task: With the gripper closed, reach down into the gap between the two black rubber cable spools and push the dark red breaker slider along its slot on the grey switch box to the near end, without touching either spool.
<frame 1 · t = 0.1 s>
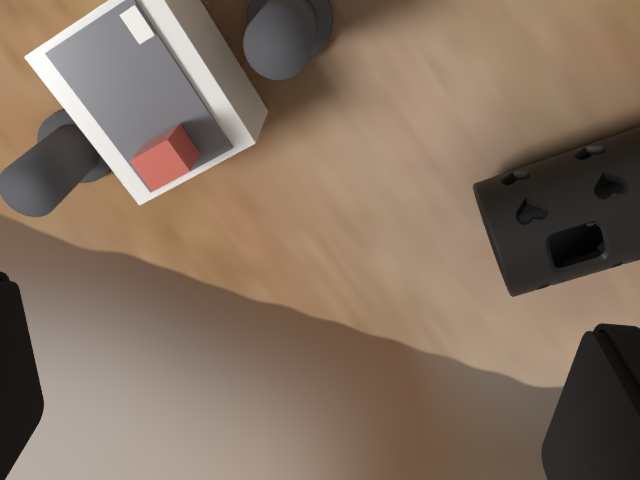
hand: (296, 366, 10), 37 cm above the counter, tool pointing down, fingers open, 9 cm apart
slider: (166, 157, 39), point 9 cm above the counter, slide at 0.0 cm
switch box: (171, 74, 45), on the counter
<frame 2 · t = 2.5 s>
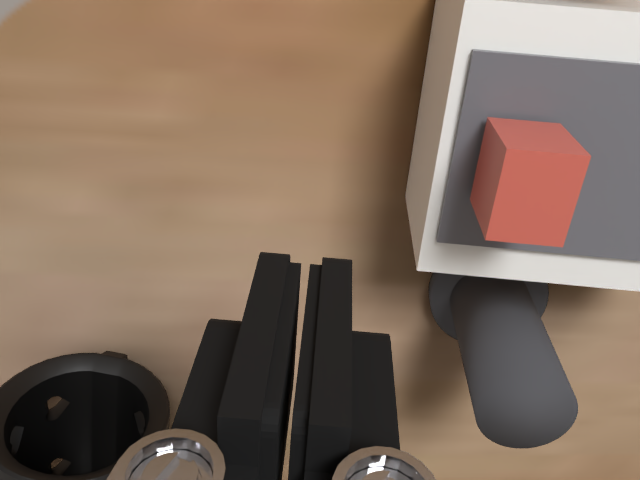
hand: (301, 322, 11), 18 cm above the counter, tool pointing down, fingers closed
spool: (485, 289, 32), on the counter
slider: (523, 180, 19), point 9 cm above the counter, slide at 0.0 cm
switch box: (553, 107, 27), on the counter
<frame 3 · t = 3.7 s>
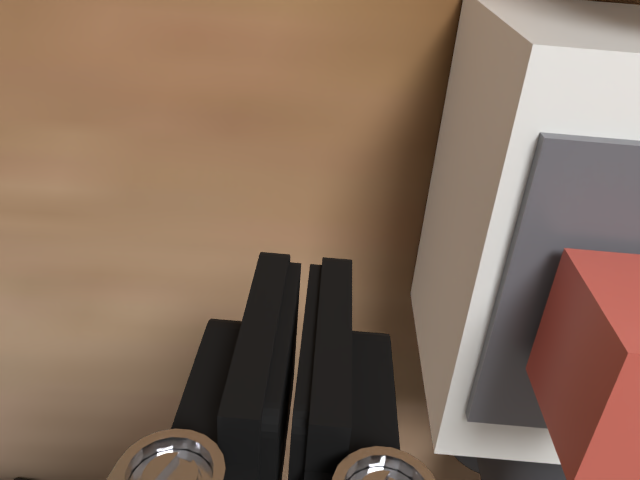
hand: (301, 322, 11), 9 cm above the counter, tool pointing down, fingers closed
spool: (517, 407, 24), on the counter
slider: (634, 368, 11), point 9 cm above the counter, slide at 0.0 cm
switch box: (626, 178, 19), on the counter
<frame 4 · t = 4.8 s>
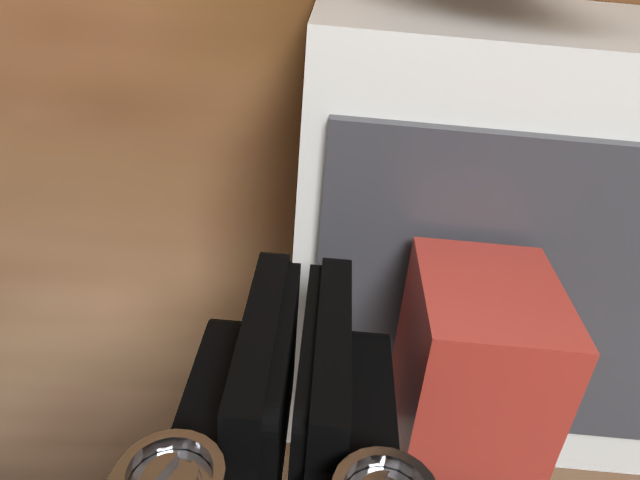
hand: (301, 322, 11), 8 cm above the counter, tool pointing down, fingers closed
slider: (475, 357, 11), point 9 cm above the counter, slide at 1.0 cm, touching gripper
switch box: (504, 169, 18), on the counter
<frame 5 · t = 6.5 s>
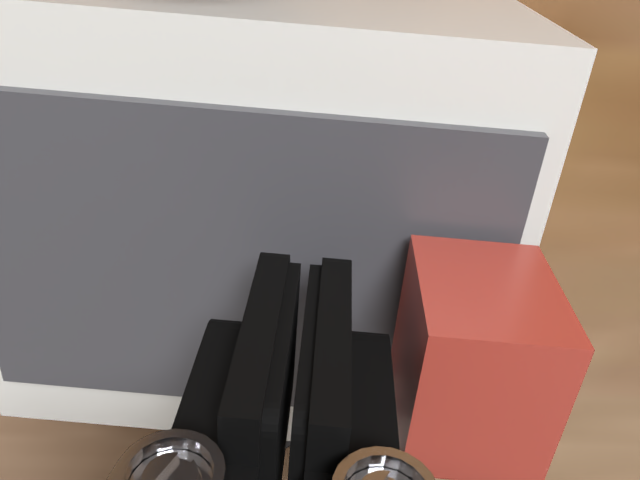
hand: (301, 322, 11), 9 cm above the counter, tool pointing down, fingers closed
slider: (472, 354, 11), point 9 cm above the counter, slide at 8.0 cm, touching gripper
switch box: (276, 148, 19), on the counter
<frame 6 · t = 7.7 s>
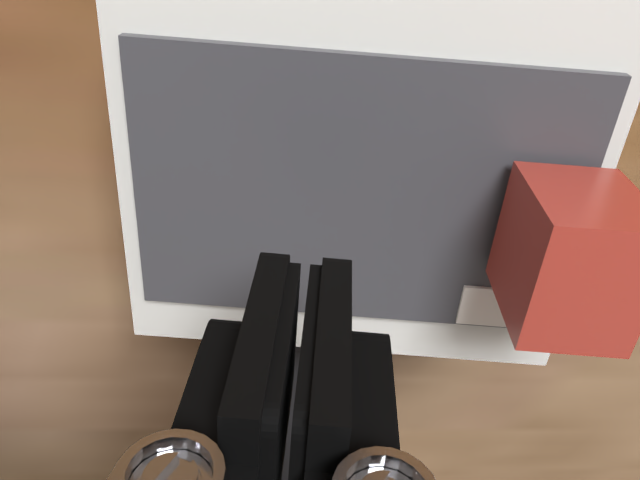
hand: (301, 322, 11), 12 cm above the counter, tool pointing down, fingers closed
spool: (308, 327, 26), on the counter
slider: (569, 256, 13), point 9 cm above the counter, slide at 8.1 cm
switch box: (353, 106, 21), on the counter
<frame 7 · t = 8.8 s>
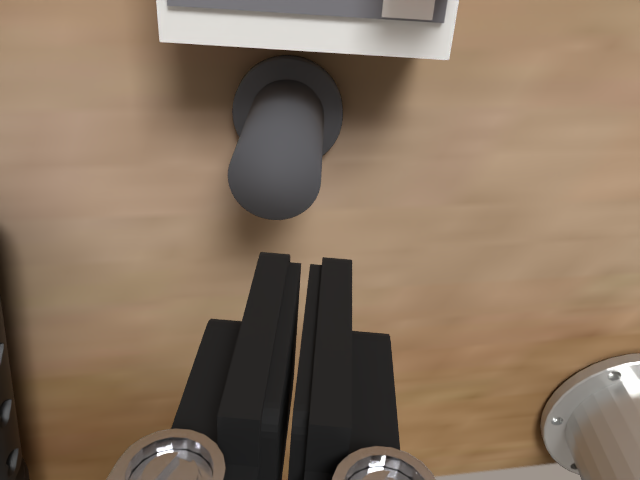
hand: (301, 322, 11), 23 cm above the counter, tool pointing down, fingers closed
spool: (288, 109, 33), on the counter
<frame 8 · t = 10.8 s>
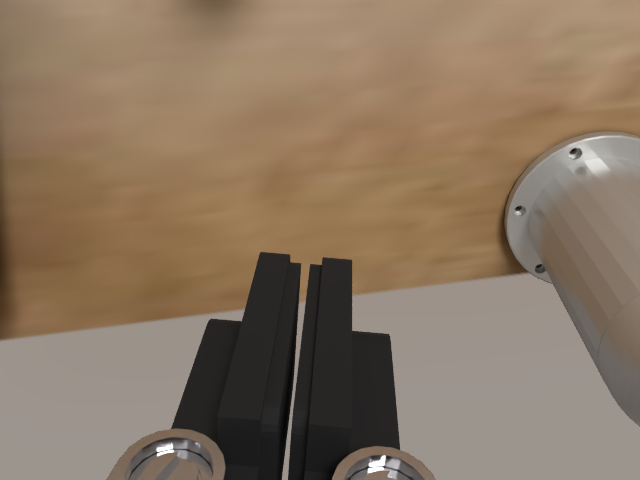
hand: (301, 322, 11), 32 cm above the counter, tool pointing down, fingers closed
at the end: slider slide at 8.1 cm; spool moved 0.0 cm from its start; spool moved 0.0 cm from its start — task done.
